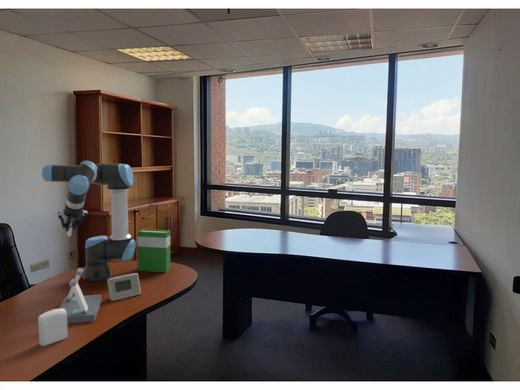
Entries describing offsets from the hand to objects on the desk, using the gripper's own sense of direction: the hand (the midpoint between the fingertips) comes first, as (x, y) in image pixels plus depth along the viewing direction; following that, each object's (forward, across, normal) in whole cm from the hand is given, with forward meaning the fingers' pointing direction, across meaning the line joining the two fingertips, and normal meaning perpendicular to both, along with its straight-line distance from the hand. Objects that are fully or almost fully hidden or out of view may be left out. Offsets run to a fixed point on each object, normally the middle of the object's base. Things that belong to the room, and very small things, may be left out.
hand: (68, 233), depth 199 cm
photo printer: (-7, -16, -54) cm, 56 cm away
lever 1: (+14, -4, -28) cm, 31 cm away
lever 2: (+1, 0, -41) cm, 41 cm away
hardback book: (+38, +51, -8) cm, 64 cm away
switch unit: (+9, -1, -37) cm, 38 cm away
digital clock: (+14, +22, -32) cm, 41 cm away
